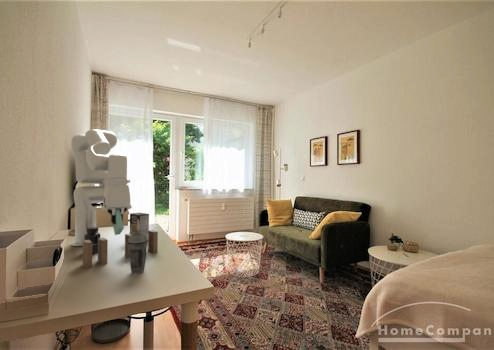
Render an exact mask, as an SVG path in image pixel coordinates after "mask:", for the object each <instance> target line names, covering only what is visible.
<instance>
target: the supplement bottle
mask: <svg viewBox="0 0 494 350" xmlns="http://www.w3.org/2000/svg"><path fill="white" fill-rule="evenodd" d="M86 232H87V234H85V235H84V240H90V241H91V242H92V255H94V254H95V255H96V254H98V238H101V233H100V232H99V226H96V227H90V228H87V231H86Z"/></svg>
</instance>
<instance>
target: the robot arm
mask: <svg viewBox="0 0 494 350" xmlns="http://www.w3.org/2000/svg"><path fill="white" fill-rule="evenodd" d="M117 137H118V136H116V134H115V133H114V132H113V131H108V130H101V129H90V130H89V129H88V130H87V131H86V132H85V134H76V135H73V137H71V142H70V145H71V146H70V147H71V150H72V153H73V156H74V159H75V175H76V181H77V183H79V184H80V185H81V184H82V186H78V187H76V188H75V189H74V190H73V199H74V208H75V210H74V213H75V215H74V216H75V217H74V218H75V221H74V224H75V226H74V240H73V241H71V245H70V246H73V247H83V241H84V235H85V234H87V232H86V231H87V228H90V227H97V211H96V208H95V207H94V206H93V205H92V204H98V203H102V208H101V211H103V212H107V213H108V214H109V215H110V217H111V218H110V219H111V220H110V222H111V224H112V225H113V224H116V215H115V208H120V212H121V217H122V222H123V221H124V214H125V213H126V211H128V210H131V209H132V208H133V207H132V205H131V192H130V187H129V184H128V183H131V179H128V156H127V155H124V154H120V153H119V154H118V153H117V154H113V153H112V154H109V153H110V151H111V149H113V148H114V147H116V145H117V142H118V138H117ZM97 184H98V185H97ZM127 184H128V185H127ZM83 185H84V186H83ZM85 185H87V186H85ZM95 185H96V186H95Z"/></svg>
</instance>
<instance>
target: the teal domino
mask: <svg viewBox="0 0 494 350" xmlns="http://www.w3.org/2000/svg"><path fill="white" fill-rule="evenodd" d="M115 215H116V224H112V228H113V232H114V236H116V235H117V236H119V235H121V233H122V232H123V230H124V228H125V227H124V222H123V221H122V217H121V212H120V208H115Z"/></svg>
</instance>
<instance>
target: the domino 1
mask: <svg viewBox="0 0 494 350" xmlns="http://www.w3.org/2000/svg"><path fill="white" fill-rule="evenodd" d="M82 266H83V267H84V268H85V269H90V268H92V267H93V254H92V242H91V241H90V240H84V241H83V246H82Z"/></svg>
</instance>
